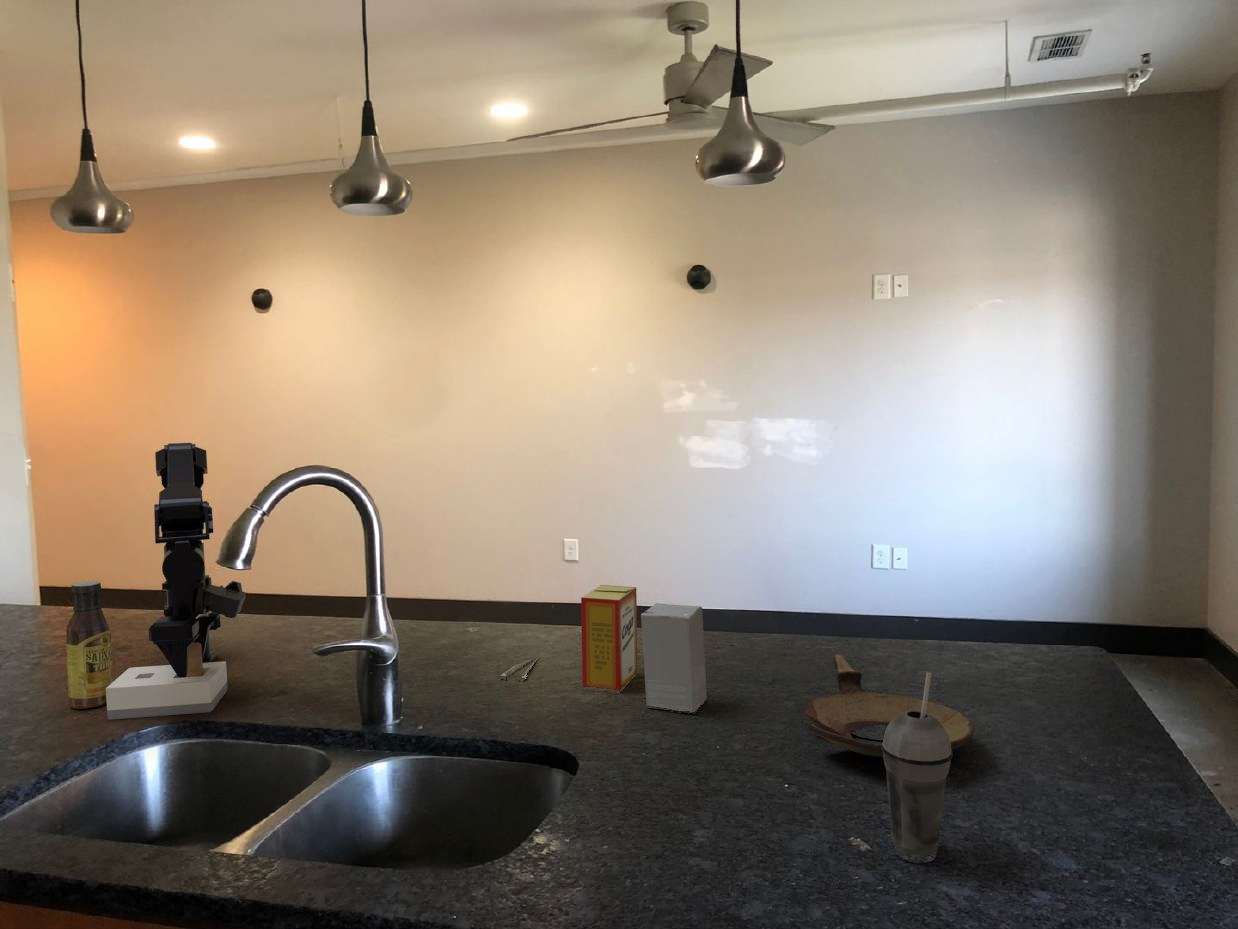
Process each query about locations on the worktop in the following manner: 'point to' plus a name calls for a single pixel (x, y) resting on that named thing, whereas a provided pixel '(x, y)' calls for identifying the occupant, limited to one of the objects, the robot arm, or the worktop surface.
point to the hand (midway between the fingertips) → (191, 668)
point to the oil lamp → (873, 713)
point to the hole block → (165, 691)
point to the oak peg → (195, 661)
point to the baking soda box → (609, 636)
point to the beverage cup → (916, 777)
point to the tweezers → (518, 667)
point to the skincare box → (674, 657)
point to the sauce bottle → (88, 648)
